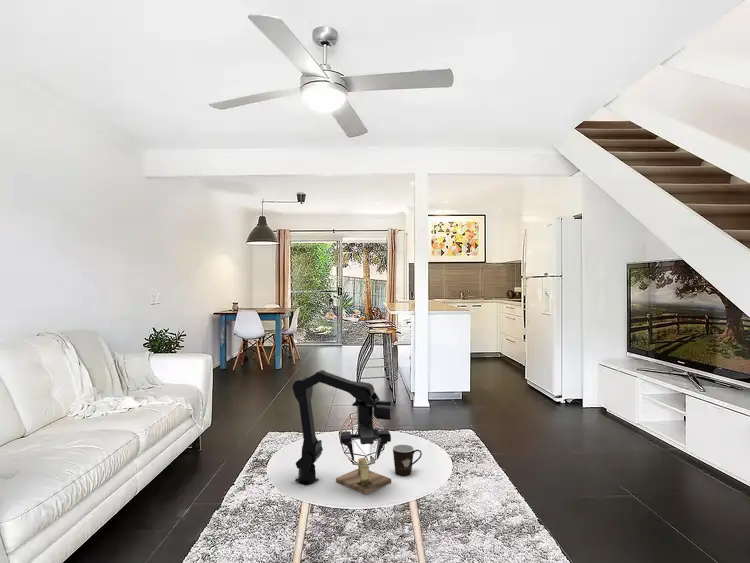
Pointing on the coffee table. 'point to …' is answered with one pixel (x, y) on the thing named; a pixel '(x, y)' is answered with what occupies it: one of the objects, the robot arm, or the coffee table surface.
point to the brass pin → (364, 475)
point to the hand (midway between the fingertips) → (365, 459)
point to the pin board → (354, 479)
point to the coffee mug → (404, 459)
